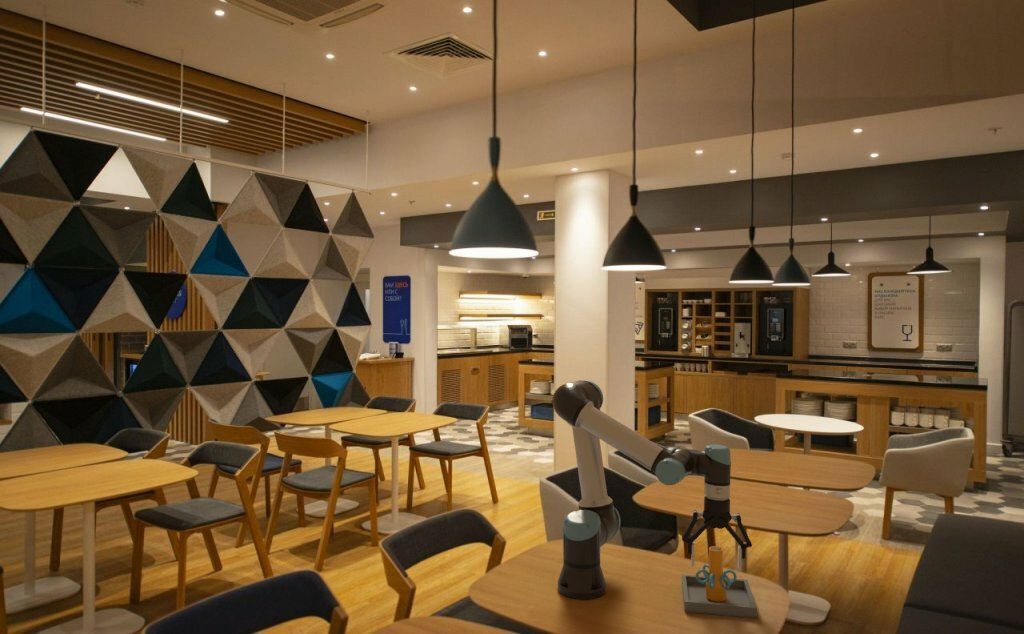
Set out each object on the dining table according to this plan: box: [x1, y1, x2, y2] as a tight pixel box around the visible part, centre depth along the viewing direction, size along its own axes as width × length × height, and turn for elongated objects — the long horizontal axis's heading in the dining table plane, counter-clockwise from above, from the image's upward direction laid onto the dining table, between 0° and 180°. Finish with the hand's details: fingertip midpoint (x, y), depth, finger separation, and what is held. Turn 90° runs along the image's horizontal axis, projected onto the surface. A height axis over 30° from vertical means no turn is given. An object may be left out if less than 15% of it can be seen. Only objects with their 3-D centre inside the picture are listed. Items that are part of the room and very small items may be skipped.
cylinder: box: [695, 545, 738, 602], centre depth 194 cm, size 12×10×15 cm
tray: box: [681, 573, 758, 619], centre depth 194 cm, size 20×20×3 cm
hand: (715, 566), depth 194 cm, fingers open, 13 cm apart
